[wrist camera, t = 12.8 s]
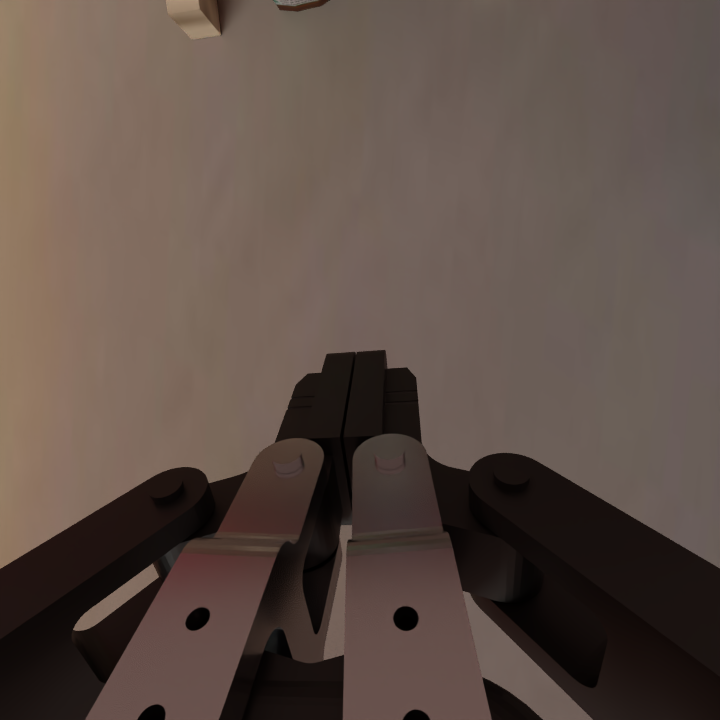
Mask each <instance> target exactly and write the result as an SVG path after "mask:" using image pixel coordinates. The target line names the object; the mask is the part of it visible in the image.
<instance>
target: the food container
mask: <svg viewBox="0 0 720 720" xmlns="http://www.w3.org/2000/svg"><path fill="white" fill-rule="evenodd" d="M273 1H274V2H275V4H276V5H277V6H278V8H279V9H280V10H285V11H297V12H298V11H302V10H306V9H311V8H315V7H319V6H322V5H323V4H325V3H327V2H328V1H330V0H273Z"/></svg>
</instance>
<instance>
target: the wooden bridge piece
mask: <svg viewBox="0 0 720 720" xmlns="http://www.w3.org/2000/svg"><path fill="white" fill-rule="evenodd" d="M166 3H167V10H168V15H169V16H170V17H171V18H172V19H173V20H174V21H175V22H176V23H177V24H178V25H179V26H180V27H181V28H182V29H183V31H184V32H185V33H186V34H187V35H188V36H189V37H190V38H191V39H192V40H194V39H201V38H207V37H213V36H219V35H221V30H220V22H219V13H218V5H217V0H166Z"/></svg>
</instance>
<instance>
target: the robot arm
mask: <svg viewBox="0 0 720 720" xmlns="http://www.w3.org/2000/svg"><path fill="white" fill-rule="evenodd" d="M291 398H292V399H291V400H290V402H289V405H288V410H287V411H286V413H285V416H284V419H283V421H282V424H281V427H280V430H279V432H278V435H277V438H276V441H275V443H274V444H272V445H270V446H268V447H266V448H265V449H263V450H262V451H261V452H260V453H259V454H258V455H257V456H256V458H255V459H254V461H253V463H252V465H251V467H250V469H249V471H248V472H245V473H243V474H241V475H237V476H234V477H231V478H227V479H223V480H220V481H216V482H212V483H208V480H207V477H206V475H205V474H204V473H203V472H202V471H200V470H199V469H196V468H191V467H181V468H174V469H170V470H167V471H164V472H162V473H160V474H157V475H155V476H154V477H152V478H150V479H148V480H147V481H145V482H143V483H142V484H140V485H138V486H137V487H135V488H134V489H132V490H130V491H129V492H127V493H125V494H124V495H122V496H120V497H119V498H117V499H115V500H114V501H112V502H110V503H109V504H107V505H105V506H104V507H102V508H100V509H99V510H97V511H95V512H94V513H92V514H91V515H89V516H87V517H86V518H84V519H82V520H81V521H79V522H77V523H76V524H74V525H72V526H71V527H69V528H67V529H66V530H64V531H62V532H61V533H59V534H57V535H56V536H54V537H52V538H51V539H49V540H47V541H46V542H44V543H43V544H41V545H39V546H38V547H36V548H34V549H33V550H31V551H29V552H28V553H26V554H24V555H23V556H21V557H19V558H18V559H16V560H14V561H13V562H11V563H9V564H8V565H6V566H4V567H3V568H1V569H0V720H543V719H541V718H540V717H539V716H538V715H537V714H536V713H535V712H534V711H533V710H532V709H531V708H529V707H528V706H527V705H526V704H525V703H523V702H522V701H521V700H519V699H518V698H517V697H515V696H514V695H513V694H511V693H510V692H509V691H507V690H505V689H504V688H502V687H500V686H498V685H497V684H495V683H493V682H492V681H490V680H487V679H485V678H483V677H482V675H481V670H480V666H479V662H478V657H477V653H476V648H475V644H474V640H473V635H472V631H471V626H470V622H469V618H468V613H467V609H466V604H465V600H464V596H463V591H465V592H469V593H470V594H471V596H472V598H473V600H474V601H475V603H476V604H477V605H478V606H479V608H480V609H481V610H482V611H483V612H484V613H485V614H487V615H488V616H489V617H490V618H491V619H492V620H493V621H494V622H495V623H496V624H497V625H498V626H499V627H500V628H501V629H502V630H503V631H504V632H505V633H506V634H507V635H508V636H509V637H510V638H511V639H512V640H513V641H514V642H515V643H516V644H517V645H518V646H519V647H520V648H521V649H522V650H523V651H524V652H525V653H526V654H527V655H528V656H529V657H530V658H531V659H532V660H533V661H534V662H535V663H536V664H537V665H538V666H539V667H540V668H541V669H542V670H543V671H544V672H545V673H546V674H547V675H548V676H549V677H550V678H551V679H552V680H554V681H555V682H556V683H557V684H558V685H559V686H560V687H561V688H562V689H563V690H564V691H565V692H566V693H567V694H568V695H569V696H570V697H571V698H572V699H573V700H574V701H575V702H576V703H577V704H578V705H579V706H580V707H581V708H582V709H583V710H584V711H585V712H586V713H587V714H588V715H589V716H590V717H591V718H592V719H593V720H720V568H718V567H716V566H715V565H713V564H711V563H709V562H708V561H706V560H704V559H703V558H701V557H699V556H698V555H696V554H694V553H692V552H691V551H689V550H687V549H686V548H684V547H682V546H680V545H679V544H677V543H675V542H674V541H672V540H670V539H669V538H667V537H665V536H663V535H662V534H660V533H658V532H657V531H655V530H653V529H652V528H650V527H648V526H646V525H645V524H643V523H641V522H640V521H638V520H636V519H634V518H633V517H631V516H629V515H628V514H626V513H624V512H623V511H621V510H619V509H617V508H616V507H614V506H612V505H611V504H609V503H607V502H606V501H604V500H602V499H600V498H599V497H597V496H595V495H594V494H592V493H590V492H589V491H587V490H585V489H583V488H582V487H580V486H578V485H577V484H575V483H573V482H571V481H570V480H568V479H566V478H565V477H563V476H561V475H560V474H558V473H556V472H554V471H553V470H551V469H549V468H548V467H546V466H544V465H543V464H541V463H539V462H537V461H535V460H533V459H531V458H529V457H526V456H523V455H519V454H513V453H497V454H492V455H489V456H486V457H483V458H481V459H480V460H478V461H477V462H476V463H475V464H474V465H473V466H472V468H471V469H470V471H466V470H461V469H456V468H452V467H448V466H445V465H443V464H441V463H439V462H437V461H435V460H434V459H432V458H431V457H430V456H429V455H428V454H427V452H426V450H425V448H424V446H423V445H422V442H421V430H420V418H419V406H418V394H417V382H416V377H415V376H414V375H413V374H412V373H411V372H410V370H409V369H408V368H392V369H387V359H386V351H385V350H377V351H363V352H357V354H356V353H355V352H346V353H332V354H327V355H326V358H325V361H324V365H323V368H322V372H321V373H311V374H307V375H306V376H305V377H304V378H303V379H302V380H301V381H299V382H298V383H297V384H296V386H295V389H294V391H293V394H292V397H291ZM341 525H352V540H348V542H347V553H346V596H345V643H344V655H342V656H339V657H335V658H331V659H327V660H324V661H323V659H324V647H325V641H326V636H327V631H328V626H329V621H330V616H331V611H332V606H333V601H334V597H335V592H336V587H337V582H338V577H339V572H340V567H341V562H342V549H341V543H340V538H339V534H340V526H341ZM152 563H153V565H154V567H155V569H156V571H157V573H158V575H159V578H157V579H156V580H155V581H153V582H152V583H151V584H149V585H148V586H147V587H145V588H144V589H143V590H141V591H140V592H139V593H138V594H136V595H135V596H134V597H132V598H131V599H130V600H128V601H127V602H126V603H124V604H123V605H122V606H120V607H119V608H118V609H116V610H115V611H114V612H112V613H111V614H110V615H108V616H107V617H106V618H105V619H103V620H102V621H101V622H99V623H98V624H96V625H95V626H93V627H91V628H89V629H87V630H83V631H75V630H73V628H74V626H75V624H76V623H77V621H78V620H79V619H80V617H81V616H82V615H83V614H84V613H85V612H87V611H88V610H89V609H91V608H92V607H93V606H95V605H96V604H97V603H99V602H100V601H102V600H103V599H104V598H106V597H107V596H108V595H110V594H111V593H112V592H114V591H115V590H117V589H118V588H119V587H121V586H122V585H123V584H125V583H126V582H128V581H129V580H130V579H132V578H133V577H134V576H136V575H137V574H139V573H140V572H141V571H143V570H144V569H145V568H147V567H148V566H149V565H151V564H152Z"/></svg>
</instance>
